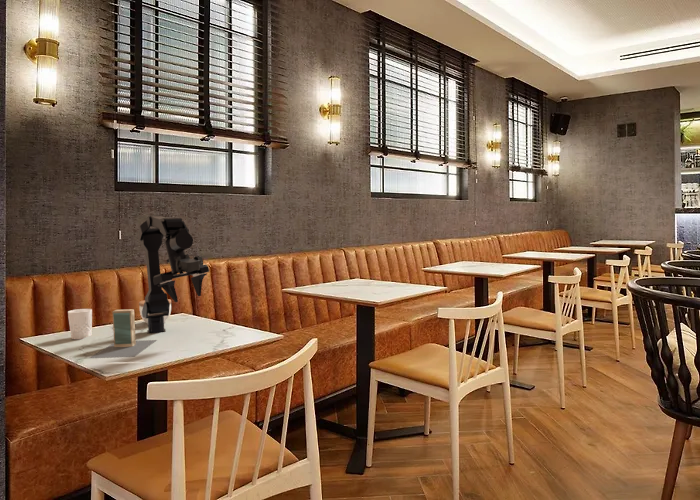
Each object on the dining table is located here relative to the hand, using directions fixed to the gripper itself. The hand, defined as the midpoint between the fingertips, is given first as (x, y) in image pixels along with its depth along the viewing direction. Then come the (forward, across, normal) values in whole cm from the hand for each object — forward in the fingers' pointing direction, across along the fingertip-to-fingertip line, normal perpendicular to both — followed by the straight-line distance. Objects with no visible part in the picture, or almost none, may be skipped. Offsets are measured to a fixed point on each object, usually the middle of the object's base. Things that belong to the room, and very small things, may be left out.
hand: (188, 299), depth 181 cm
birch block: (+10, -15, +20) cm, 27 cm away
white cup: (+4, -15, +48) cm, 51 cm away
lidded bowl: (+6, +15, +48) cm, 51 cm away
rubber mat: (+11, -17, +16) cm, 26 cm away
